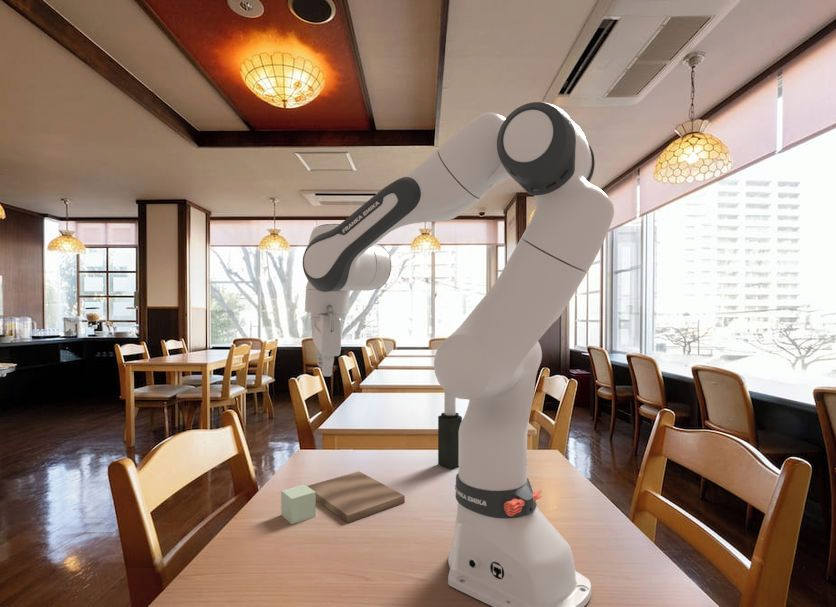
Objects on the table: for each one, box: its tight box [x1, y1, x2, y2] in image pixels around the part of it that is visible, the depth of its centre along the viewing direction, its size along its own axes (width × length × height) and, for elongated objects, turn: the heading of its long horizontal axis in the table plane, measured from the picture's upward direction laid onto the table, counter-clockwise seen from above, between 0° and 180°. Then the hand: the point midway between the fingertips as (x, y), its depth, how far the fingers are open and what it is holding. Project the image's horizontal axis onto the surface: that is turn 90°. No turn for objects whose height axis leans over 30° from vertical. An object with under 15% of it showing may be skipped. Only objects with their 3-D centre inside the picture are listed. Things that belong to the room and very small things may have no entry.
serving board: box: [307, 471, 406, 524], centre depth 99 cm, size 18×14×2 cm
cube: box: [280, 483, 317, 525], centre depth 91 cm, size 5×5×5 cm
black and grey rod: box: [437, 390, 463, 470], centre depth 119 cm, size 5×5×25 cm
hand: (324, 370), depth 94 cm, fingers open, 8 cm apart
